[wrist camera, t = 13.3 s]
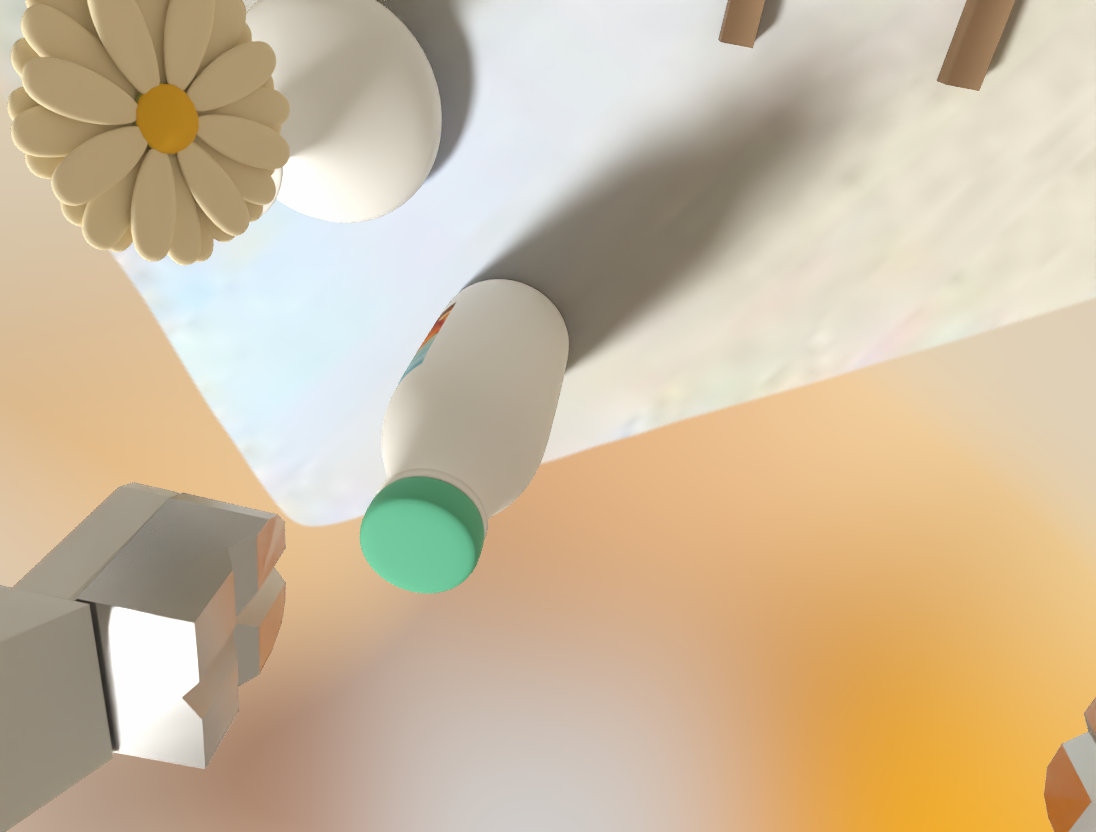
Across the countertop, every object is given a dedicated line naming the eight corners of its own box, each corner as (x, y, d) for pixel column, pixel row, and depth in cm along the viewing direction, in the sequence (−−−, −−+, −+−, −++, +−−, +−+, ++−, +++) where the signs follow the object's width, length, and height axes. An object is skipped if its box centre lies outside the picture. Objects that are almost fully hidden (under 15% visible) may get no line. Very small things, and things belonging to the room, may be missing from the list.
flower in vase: (407, 249, 46) (178, 501, 24) (214, 158, 44) (-212, 336, 23) (495, 13, 39) (294, 64, 18) (274, -100, 38) (-236, -197, 16)
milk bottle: (500, 247, 45) (401, 421, 27) (598, 341, 47) (563, 558, 29) (414, 335, 48) (275, 541, 31) (508, 419, 50) (429, 658, 33)
